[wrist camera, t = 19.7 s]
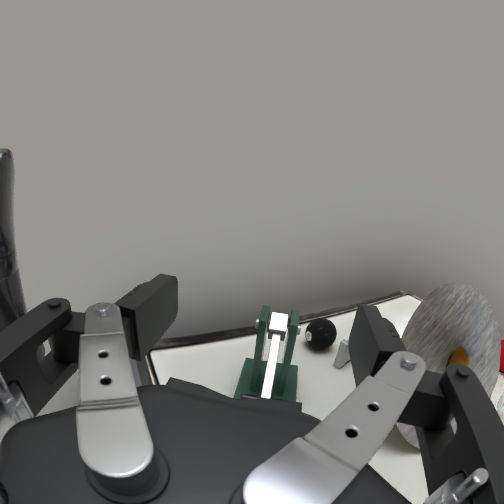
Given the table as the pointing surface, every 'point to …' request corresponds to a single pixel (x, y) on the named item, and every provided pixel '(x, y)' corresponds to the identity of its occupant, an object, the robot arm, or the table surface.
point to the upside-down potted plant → (454, 337)
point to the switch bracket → (256, 367)
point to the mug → (501, 408)
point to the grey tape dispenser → (342, 354)
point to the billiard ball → (321, 333)
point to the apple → (502, 357)
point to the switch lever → (272, 355)
